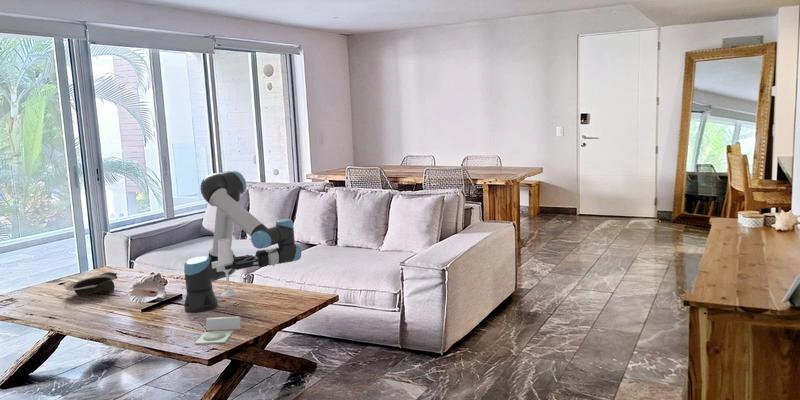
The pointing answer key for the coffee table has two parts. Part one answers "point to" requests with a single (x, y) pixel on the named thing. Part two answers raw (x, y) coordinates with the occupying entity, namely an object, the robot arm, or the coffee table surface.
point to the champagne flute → (225, 262)
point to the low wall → (223, 323)
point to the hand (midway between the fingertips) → (214, 267)
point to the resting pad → (214, 337)
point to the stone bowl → (94, 284)
